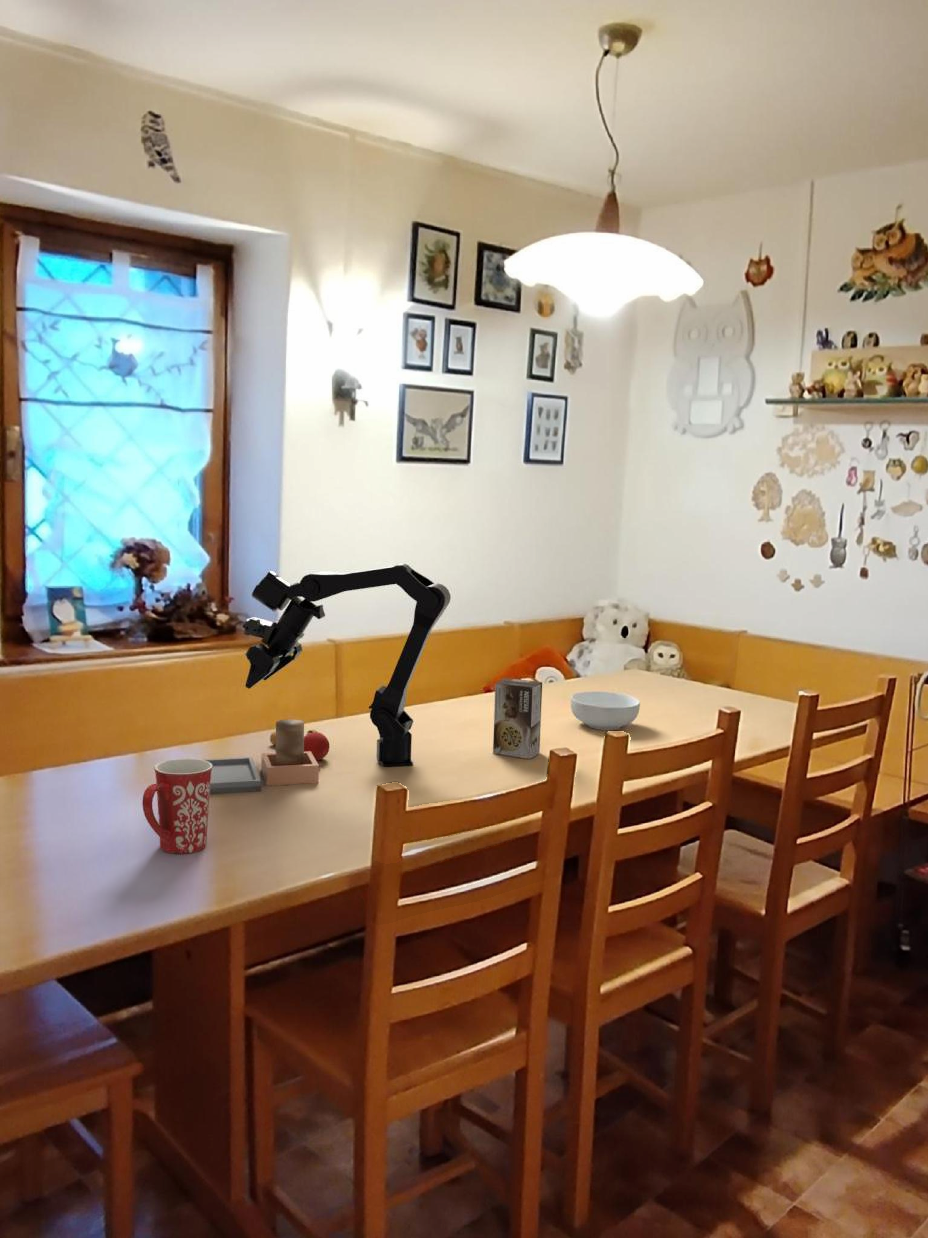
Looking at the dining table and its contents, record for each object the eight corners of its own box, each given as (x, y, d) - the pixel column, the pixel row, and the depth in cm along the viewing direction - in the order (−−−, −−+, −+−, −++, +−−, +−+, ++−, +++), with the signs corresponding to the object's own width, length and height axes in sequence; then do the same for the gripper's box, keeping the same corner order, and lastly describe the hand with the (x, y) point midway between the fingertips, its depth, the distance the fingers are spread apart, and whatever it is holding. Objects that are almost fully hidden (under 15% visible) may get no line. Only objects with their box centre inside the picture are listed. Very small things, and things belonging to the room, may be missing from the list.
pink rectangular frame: (310, 767, 212) (310, 751, 212) (318, 782, 203) (318, 765, 202) (261, 770, 209) (261, 753, 209) (266, 785, 200) (267, 768, 199)
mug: (184, 832, 174) (184, 754, 172) (224, 844, 169) (224, 764, 167) (124, 854, 163) (123, 772, 161) (164, 868, 158) (164, 783, 156)
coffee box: (540, 752, 230) (544, 681, 227) (529, 759, 224) (533, 687, 221) (502, 746, 233) (505, 676, 231) (491, 753, 228) (494, 681, 225)
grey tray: (252, 766, 211) (252, 757, 211) (260, 790, 196) (260, 780, 196) (196, 769, 208) (196, 759, 208) (201, 794, 193) (201, 784, 193)
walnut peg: (301, 771, 209) (301, 718, 208) (305, 780, 204) (306, 725, 202) (273, 773, 208) (274, 719, 206) (277, 781, 202) (277, 726, 201)
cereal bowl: (560, 729, 251) (562, 700, 250) (579, 715, 266) (581, 688, 265) (629, 738, 245) (631, 709, 244) (644, 723, 260) (646, 695, 259)
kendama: (258, 754, 225) (306, 761, 212) (260, 725, 226) (308, 731, 213) (287, 754, 231) (336, 762, 218) (290, 726, 231) (339, 732, 218)
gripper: (277, 597, 227) (241, 654, 231) (244, 607, 209) (206, 669, 212) (318, 626, 227) (282, 683, 230) (289, 639, 208) (250, 700, 212)
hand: (255, 683), depth 221 cm, fingers open, 9 cm apart
